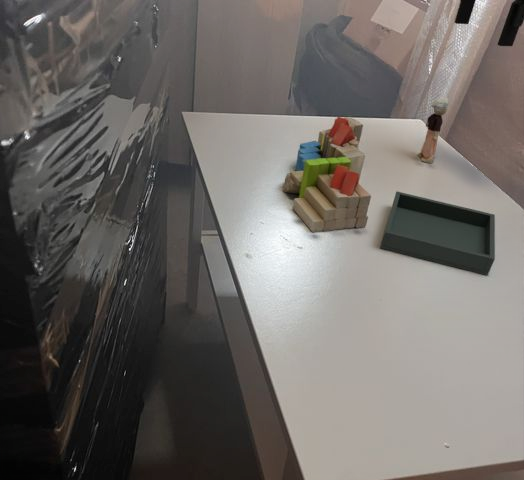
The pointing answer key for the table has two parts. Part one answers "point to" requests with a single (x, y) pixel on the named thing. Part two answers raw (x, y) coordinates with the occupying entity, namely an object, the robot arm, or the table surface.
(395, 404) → the table surface
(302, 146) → the pile of blocks
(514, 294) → the table surface
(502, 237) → the table surface
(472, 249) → the tray
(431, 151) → the grandmother figurine
